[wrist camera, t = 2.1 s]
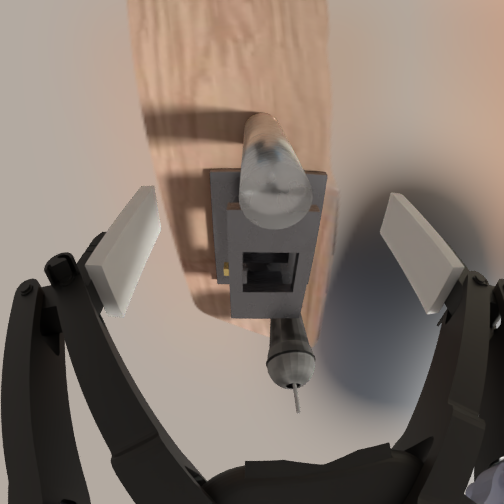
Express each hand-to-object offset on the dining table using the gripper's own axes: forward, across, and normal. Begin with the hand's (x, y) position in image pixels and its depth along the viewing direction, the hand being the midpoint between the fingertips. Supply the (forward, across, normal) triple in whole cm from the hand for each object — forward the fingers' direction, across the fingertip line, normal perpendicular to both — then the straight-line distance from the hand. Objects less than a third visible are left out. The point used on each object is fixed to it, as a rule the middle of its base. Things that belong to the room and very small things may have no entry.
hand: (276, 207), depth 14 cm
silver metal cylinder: (+18, 0, 0) cm, 19 cm away
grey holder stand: (+19, +1, -14) cm, 23 cm away
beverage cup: (+19, +5, -28) cm, 35 cm away
